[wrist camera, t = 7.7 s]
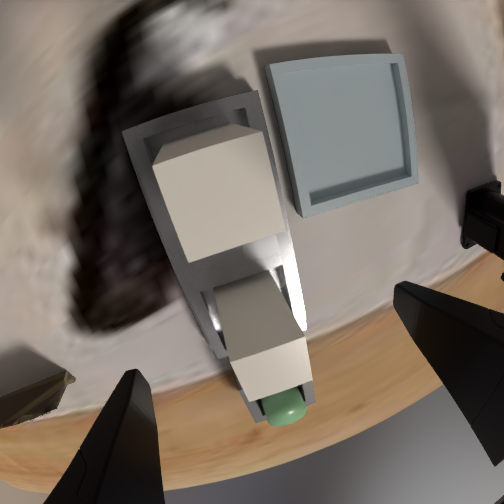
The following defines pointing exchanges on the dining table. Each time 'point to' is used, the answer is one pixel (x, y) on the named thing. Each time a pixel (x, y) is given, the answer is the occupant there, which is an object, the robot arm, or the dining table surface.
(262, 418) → the grey square tube
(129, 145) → the tray
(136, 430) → the robot arm
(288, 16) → the dining table surface
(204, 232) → the block
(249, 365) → the seated billet
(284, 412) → the button
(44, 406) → the incense holder
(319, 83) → the blue-grey square tray
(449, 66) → the dining table surface
